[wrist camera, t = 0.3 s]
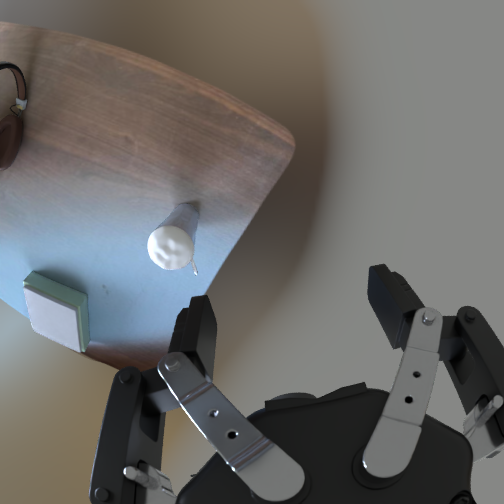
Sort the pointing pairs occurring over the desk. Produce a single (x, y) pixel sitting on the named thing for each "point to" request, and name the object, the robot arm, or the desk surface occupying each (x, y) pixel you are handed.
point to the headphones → (12, 121)
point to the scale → (57, 311)
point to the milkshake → (175, 239)
